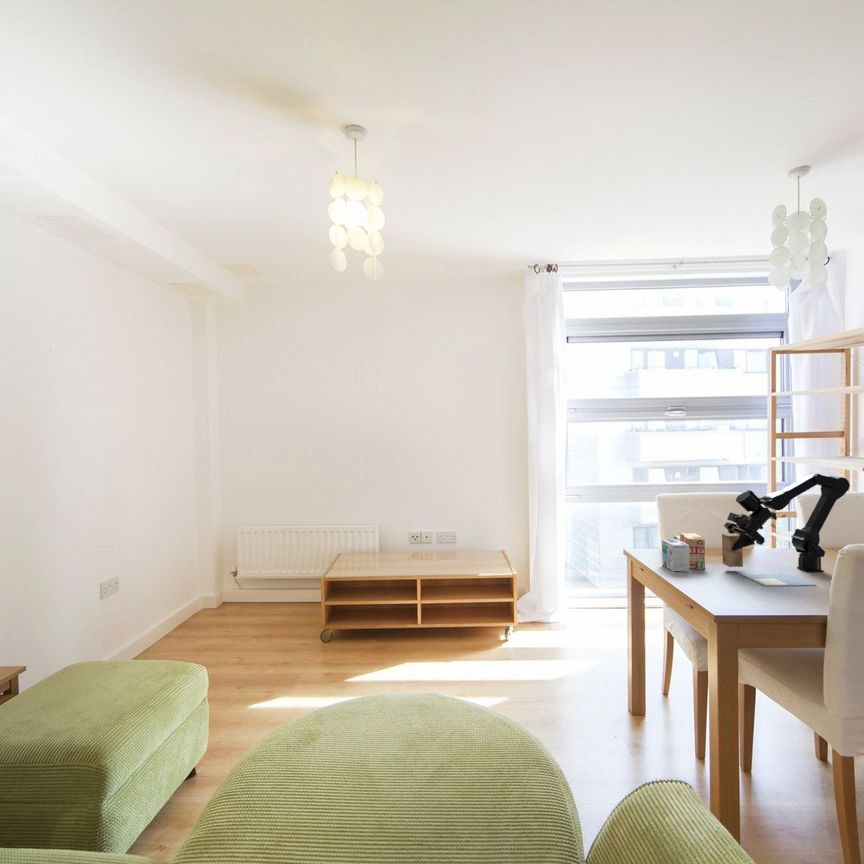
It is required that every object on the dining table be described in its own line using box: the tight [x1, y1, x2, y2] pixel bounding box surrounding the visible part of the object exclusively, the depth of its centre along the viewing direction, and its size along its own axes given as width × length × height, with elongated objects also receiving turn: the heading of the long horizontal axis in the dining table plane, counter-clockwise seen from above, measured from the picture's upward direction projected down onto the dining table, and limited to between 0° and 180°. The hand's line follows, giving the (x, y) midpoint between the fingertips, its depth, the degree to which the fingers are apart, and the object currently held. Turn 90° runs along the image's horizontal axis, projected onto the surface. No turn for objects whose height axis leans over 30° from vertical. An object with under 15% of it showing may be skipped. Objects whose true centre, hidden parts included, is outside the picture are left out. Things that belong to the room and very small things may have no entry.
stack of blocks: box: [673, 532, 706, 570], centre depth 214 cm, size 21×6×12 cm, turn 168°
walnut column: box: [721, 532, 744, 568], centre depth 199 cm, size 5×5×12 cm
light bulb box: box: [661, 538, 690, 573], centre depth 205 cm, size 11×7×11 cm, turn 178°
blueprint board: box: [739, 572, 817, 587], centre depth 187 cm, size 18×15×1 cm
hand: (728, 548), depth 199 cm, fingers closed on walnut column, 5 cm apart
